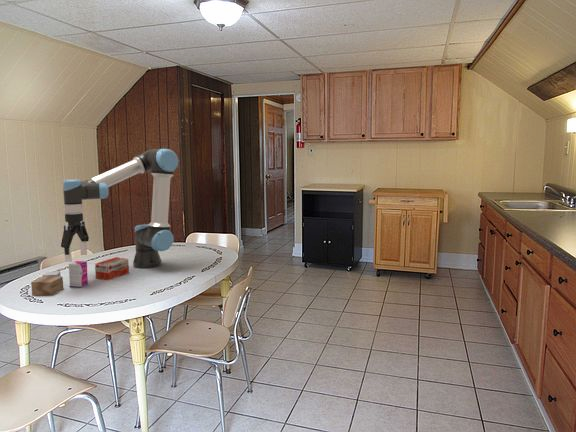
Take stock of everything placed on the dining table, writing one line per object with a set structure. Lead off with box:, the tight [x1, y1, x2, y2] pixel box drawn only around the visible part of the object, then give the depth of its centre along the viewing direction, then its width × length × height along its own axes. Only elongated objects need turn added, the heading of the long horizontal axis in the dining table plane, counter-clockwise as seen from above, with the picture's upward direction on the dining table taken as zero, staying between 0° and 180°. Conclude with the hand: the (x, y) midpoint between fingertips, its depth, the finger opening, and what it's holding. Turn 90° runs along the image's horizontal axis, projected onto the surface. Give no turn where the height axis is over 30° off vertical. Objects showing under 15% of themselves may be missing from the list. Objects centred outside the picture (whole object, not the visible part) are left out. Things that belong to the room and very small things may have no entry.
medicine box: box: [94, 256, 130, 281], centre depth 222 cm, size 15×8×8 cm, turn 158°
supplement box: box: [68, 260, 89, 289], centre depth 205 cm, size 6×6×12 cm
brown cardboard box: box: [30, 275, 64, 296], centre depth 196 cm, size 9×9×6 cm
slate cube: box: [42, 271, 62, 277], centre depth 206 cm, size 6×6×6 cm
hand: (76, 258), depth 203 cm, fingers open, 13 cm apart
